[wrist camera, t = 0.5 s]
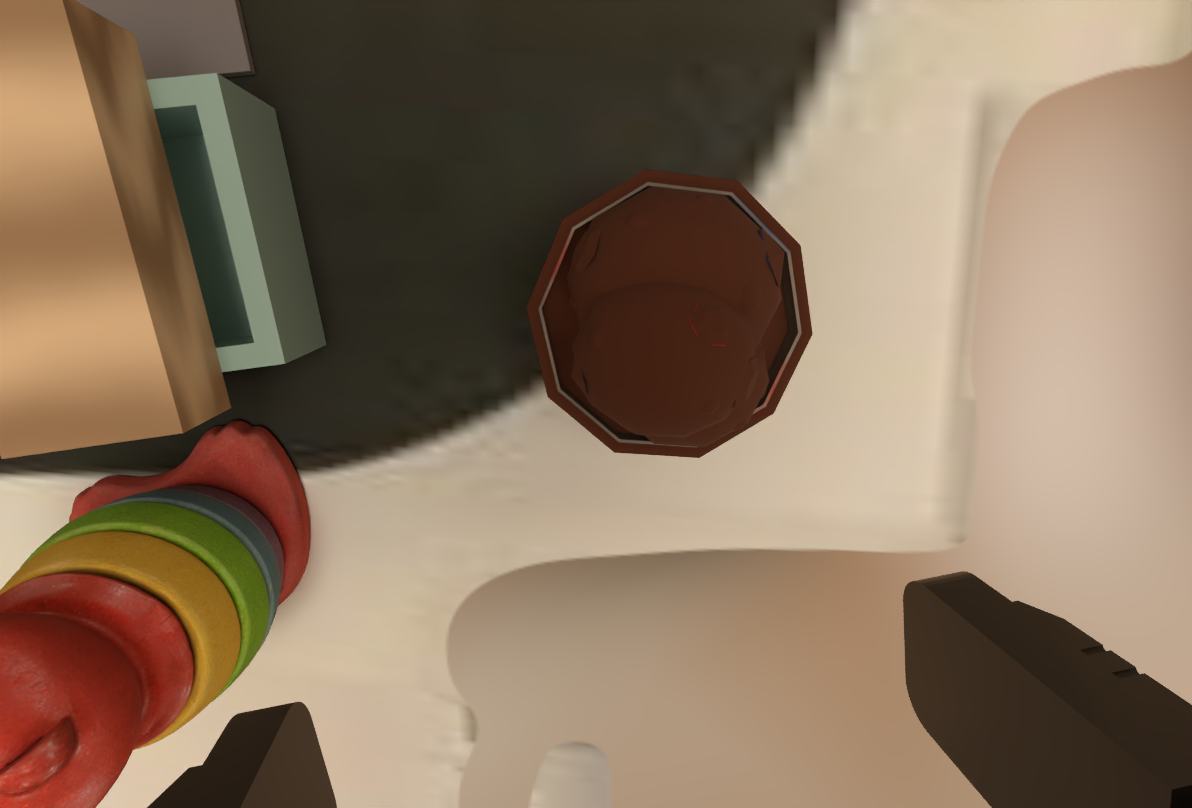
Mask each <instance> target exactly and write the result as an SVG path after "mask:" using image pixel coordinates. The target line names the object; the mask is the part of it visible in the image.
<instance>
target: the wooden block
mask: <svg viewBox="0 0 1192 808" xmlns="http://www.w3.org/2000/svg"><path fill="white" fill-rule="evenodd" d="M230 408H231V405H230V401H229V397H228V394H227V390H226V386H225V382H224V378H223V374H222V370H221V367H220V363H219V359H218V355H217V351H216V347H215V343H214V339H213V336H212V332H211V328H210V324H209V320H208V316H207V312H206V309H205V305H204V301H203V297H202V293H201V289H200V285H199V281H198V278H197V274H196V270H195V266H194V262H193V258H192V254H191V251H190V247H189V243H188V239H187V235H186V231H185V227H184V223H183V220H182V216H181V212H180V208H179V204H178V200H177V196H176V193H175V189H174V185H173V181H172V177H171V173H170V169H169V165H168V162H167V158H166V154H165V150H164V146H163V142H162V138H161V135H160V131H159V127H158V123H157V119H156V115H155V111H154V107H153V104H152V100H151V96H150V92H149V88H148V84H147V80H146V77H145V73H144V69H143V65H142V61H141V57H140V53H139V49H138V46H137V42H136V38H135V35H134V34H132V33H130V32H129V31H127V30H125V29H124V28H122V27H120V26H118V25H117V24H115V23H113V22H112V21H110V20H108V19H106V18H105V17H103V16H101V15H100V14H98V13H96V12H94V11H93V10H91V9H89V8H88V7H86V6H84V5H82V4H81V3H79V2H77V1H76V0H0V456H1V458H2V459H5V458H12V457H19V456H26V455H33V454H40V453H47V452H54V451H61V450H68V449H75V448H82V447H89V446H96V445H103V444H110V443H117V442H124V441H132V440H139V439H146V438H153V437H160V436H167V435H174V434H181V433H184V432H186V431H188V430H190V429H192V428H194V427H196V426H198V425H200V424H201V423H203V422H205V421H207V420H209V419H211V418H213V417H215V416H217V415H219V414H221V413H222V412H224V411H226V410H228V409H230Z"/></svg>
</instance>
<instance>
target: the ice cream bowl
mask: <svg viewBox="0 0 1192 808" xmlns="http://www.w3.org/2000/svg"><path fill="white" fill-rule="evenodd" d="M527 312H528V316H529V320H530V324H531V329H532V333H533V337H534V341H535V345H536V349H537V354H538V358H539V362H540V366H541V370H542V374H543V379H544V383H545V387H546V391H547V395H548V397H549V398H550V399H551V400H552V401H554V402H555V403H556V404H557V405H558V406H560V407H561V408H562V409H563V410H564V411H565V412H567V413H568V414H569V415H570V416H571V417H573V418H574V419H575V420H576V421H577V422H579V423H580V424H581V425H582V426H583V427H585V428H586V429H587V430H588V431H589V432H591V433H592V434H593V435H594V436H595V437H597V438H598V439H599V440H600V441H601V442H603V443H604V444H605V445H606V446H607V447H609V448H610V449H611V450H612V451H613V452H617V453H632V454H648V455H664V456H680V457H695V458H700V457H701V456H703V455H705V454H706V453H708V452H710V451H711V450H713V449H715V448H716V447H718V446H720V445H721V444H723V443H725V442H726V441H728V440H730V439H731V438H733V437H735V436H737V435H738V434H740V433H742V432H743V431H745V430H747V429H748V428H750V427H752V426H753V425H755V424H757V423H758V422H760V421H762V420H763V419H765V418H767V417H768V416H770V415H772V414H773V413H774V411H775V409H776V407H777V405H778V403H779V401H780V399H781V397H782V395H783V393H784V391H785V389H786V387H787V385H788V383H789V381H790V379H791V377H792V375H793V373H794V371H795V369H796V366H797V364H798V362H799V360H800V358H801V356H802V354H803V352H804V350H805V348H806V346H807V344H808V342H809V340H810V338H811V336H812V327H811V320H810V313H809V305H808V298H807V290H806V283H805V276H804V268H803V261H802V253H801V246H800V244H799V243H798V242H797V241H796V240H795V239H794V238H793V237H792V236H791V235H790V234H789V233H788V232H787V231H786V230H785V229H784V228H783V227H782V226H781V225H780V224H779V223H778V222H777V221H776V220H775V219H774V218H773V217H772V216H771V215H770V214H769V213H768V212H767V211H766V210H765V209H764V207H763V206H762V205H761V204H760V203H759V202H758V201H757V200H756V199H755V198H754V197H753V196H752V195H751V194H750V193H749V192H748V191H747V190H746V189H745V188H744V187H743V186H742V185H741V184H740V183H739V182H738V181H735V180H727V179H719V178H711V177H703V176H695V175H687V174H679V173H671V172H663V171H655V170H646V169H645V170H644V171H642V172H640V173H639V174H637V175H635V176H634V177H632V178H630V179H629V180H627V181H625V182H624V183H622V184H620V185H619V186H617V187H615V188H614V189H612V190H611V191H609V192H607V193H606V194H604V195H602V196H601V197H599V198H597V199H596V200H594V201H592V202H591V203H589V204H587V205H586V206H584V207H582V208H581V209H579V210H577V211H576V212H574V213H572V214H571V215H569V216H567V217H566V218H564V219H563V221H562V223H561V226H560V228H559V230H558V233H557V235H556V238H555V240H554V243H553V245H552V247H551V250H550V252H549V255H548V257H547V259H546V262H545V264H544V267H543V269H542V271H541V274H540V276H539V279H538V281H537V284H536V286H535V288H534V291H533V293H532V296H531V298H530V300H529V303H528V305H527Z"/></svg>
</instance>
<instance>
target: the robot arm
mask: <svg viewBox="0 0 1192 808" xmlns="http://www.w3.org/2000/svg"><path fill="white" fill-rule="evenodd" d="M903 606H904V639H905V671H906V684H907V689H908V694H909V697H910V700H911V703H912V706H913V708H914V710H915V713H916V715H917V717H918V718H919V720H920V722H921V723H922V725H923V727H924V728H925V729H926V730H927V732H928V733H929V734H930V736H931V737H932V738H933V739H934V740H935V741H936V743H937V744H938V745H939V746H940V747H941V748H942V750H943V751H944V752H945V753H946V754H947V755H948V757H949V758H950V759H951V760H952V761H953V763H954V764H955V765H956V766H957V767H958V768H959V770H960V771H961V772H962V773H963V774H964V775H965V777H966V778H967V779H968V780H969V781H970V783H972V785H973V786H974V787H975V788H976V790H977V791H978V792H979V793H980V794H981V795H982V797H983V798H984V799H985V800H986V801H987V802H988V804H989V805H990V806H991V807H992V808H1192V705H1191V704H1189V703H1188V702H1186V701H1185V700H1184V699H1182V698H1180V697H1179V696H1178V695H1176V694H1174V693H1173V692H1172V691H1170V690H1169V689H1167V688H1166V687H1164V686H1163V685H1161V684H1160V683H1158V682H1157V681H1155V680H1154V679H1152V678H1151V677H1149V676H1148V675H1146V674H1139V673H1138V672H1137V670H1136V667H1135V666H1133V665H1132V664H1130V663H1129V662H1127V661H1125V660H1124V659H1123V658H1121V657H1120V656H1118V655H1117V654H1115V653H1114V652H1112V651H1111V650H1110V651H1105V650H1104V648H1103V645H1102V644H1100V643H1099V642H1097V641H1096V640H1094V639H1093V638H1091V637H1090V636H1089V635H1087V634H1086V633H1084V632H1083V631H1081V630H1080V629H1078V628H1077V627H1075V626H1074V625H1072V624H1071V623H1069V622H1067V621H1066V620H1065V619H1063V618H1060V617H1057V616H1055V615H1053V614H1050V613H1048V612H1045V611H1042V610H1040V609H1037V608H1035V607H1032V606H1030V605H1027V604H1025V603H1022V602H1020V601H1014V602H1011V601H1010V600H1009V599H1007V598H1006V597H1004V596H1003V595H1001V594H1000V593H999V592H997V591H996V590H994V589H993V588H992V587H990V586H989V585H987V584H986V583H985V582H983V581H982V580H980V579H979V578H978V577H976V576H975V575H973V574H971V573H968V572H957V573H952V574H947V575H942V576H938V577H932V578H927V579H922V580H918V581H912V582H910V583H908V584H907V586H906V587H905V590H904V595H903ZM147 808H337V806H336V800H335V796H334V793H333V789H332V786H331V783H330V779H329V776H328V772H327V769H326V766H325V762H324V759H323V755H322V752H321V749H320V745H319V742H318V739H317V735H316V732H315V728H314V725H313V722H312V718H311V715H310V713H309V711H308V709H307V707H306V706H305V705H304V704H303V703H302V702H295V703H290V704H285V705H280V706H275V707H270V708H265V709H260V710H254V711H249V712H244V713H239V714H237V715H235V716H234V717H233V718H232V719H231V720H230V721H229V723H228V724H227V726H226V727H225V729H224V731H223V732H222V734H221V736H220V737H219V739H218V741H217V742H216V744H215V745H214V747H213V749H212V750H211V752H210V754H209V755H208V757H207V759H206V760H205V762H204V764H203V765H201V766H196V767H191V768H188V769H187V770H186V771H185V772H184V773H183V774H182V775H181V776H180V777H179V778H178V779H177V780H176V781H175V782H174V783H173V784H172V785H171V786H169V787H168V788H167V789H166V790H165V791H164V792H163V793H162V794H161V795H160V796H159V797H158V798H157V799H156V800H155V801H154V802H153V803H152V804H150V805H149V806H148V807H147Z"/></svg>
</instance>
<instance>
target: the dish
mask: <svg viewBox="0 0 1192 808" xmlns="http://www.w3.org/2000/svg"><path fill="white" fill-rule="evenodd" d="M147 84H148V88H149V92H150V96H151V100H152V104H153V107H154V111H155V115H156V119H157V123H158V127H159V131H160V135H161V138H162V142H163V146H164V150H165V154H166V158H167V162H168V165H169V169H170V173H171V177H172V181H173V185H174V189H175V193H176V196H177V200H178V204H179V208H180V212H181V216H182V220H183V223H184V227H185V231H186V235H187V239H188V243H189V247H190V251H191V254H192V258H193V262H194V266H195V270H196V274H197V278H198V281H199V285H200V289H201V293H202V297H203V301H204V305H205V309H206V312H207V316H208V320H209V324H210V328H211V332H212V336H213V339H214V343H215V347H216V351H217V355H218V359H219V363H220V367H221V370H222V372H228V371H235V370H242V369H250V368H257V367H265V366H272V365H279V364H286V363H288V362H290V361H292V360H294V359H297V358H299V357H301V356H303V355H305V354H308V353H310V352H312V351H314V350H316V349H318V348H321V347H323V346H325V345H326V340H325V336H324V331H323V326H322V322H321V317H320V313H319V308H318V304H317V299H316V294H315V290H314V285H313V281H312V276H311V272H310V267H309V262H308V258H307V253H306V249H305V244H304V240H303V235H302V230H301V226H300V221H299V217H298V212H297V207H296V203H295V198H294V194H293V189H292V185H291V180H290V175H289V171H288V166H287V162H286V157H285V153H284V148H283V143H282V139H281V134H280V130H279V125H278V121H277V116H276V111H275V108H273V107H271V106H270V105H268V104H266V103H265V102H263V101H262V100H260V99H258V98H257V97H255V96H253V95H252V94H250V93H249V92H247V91H245V90H244V89H242V88H240V87H239V86H237V85H236V84H234V83H232V82H231V81H229V80H227V79H226V78H224V77H223V76H221V75H219V74H218V73H211V74H201V75H191V76H180V77H170V78H160V79H149V80H147Z"/></svg>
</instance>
